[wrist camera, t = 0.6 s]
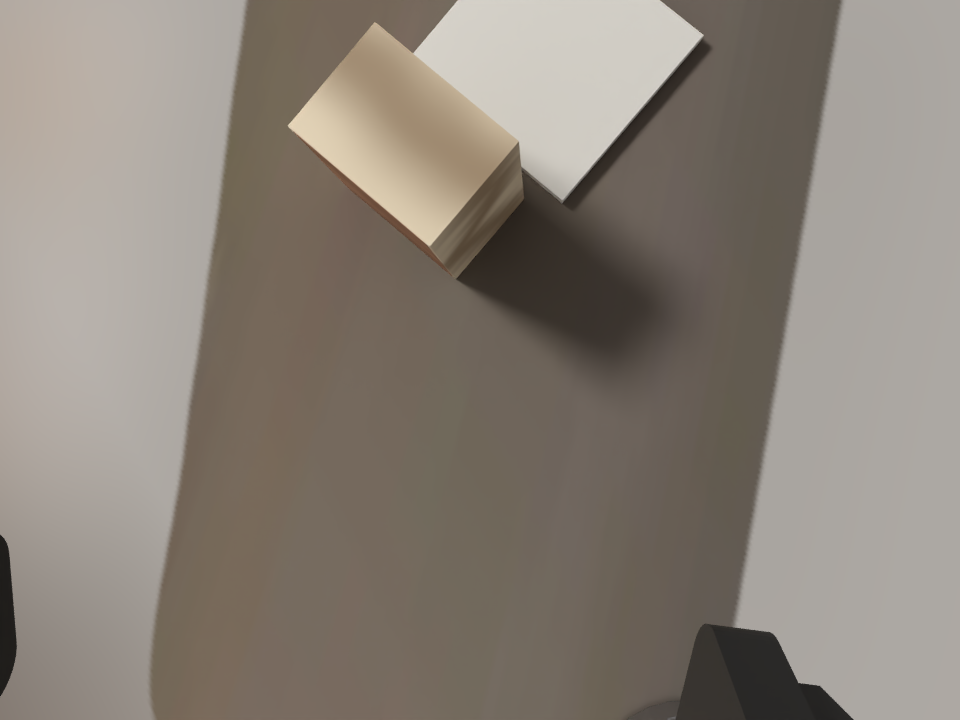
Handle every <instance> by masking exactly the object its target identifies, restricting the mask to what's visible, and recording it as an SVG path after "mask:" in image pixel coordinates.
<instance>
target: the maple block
mask: <svg viewBox="0 0 960 720" xmlns="http://www.w3.org/2000/svg"><path fill="white" fill-rule="evenodd" d="M288 127H289V128H290V129H291V130H292V131H293V132H294V133H295V134H296V135H297V136H298V137H299V138H300V139H301V140H302V141H303V142H304V143H305V144H306V145H307V146H308V147H309V148H310V149H311V150H312V151H313V152H314V153H315V154H316V155H317V156H318V157H319V158H320V159H321V161H322V162H323V163H324V164H325V165H326V166H327V167H328V168H329V169H330V170H331V171H332V172H333V173H334V174H335V175H336V176H337V177H338V178H339V179H340V180H341V181H342V182H343V183H344V184H345V185H346V186H347V187H348V188H349V189H350V190H351V191H352V192H354V193H355V194H356V195H357V196H358V197H360V198H361V199H362V200H363V201H364V202H365V203H367V204H368V205H369V206H370V207H371V208H372V209H374V210H375V211H376V212H377V213H378V214H380V215H381V216H382V217H383V218H384V219H385V220H387V221H388V222H389V223H390V224H391V225H392V226H394V227H395V228H396V229H397V230H398V231H399V232H401V233H402V234H403V235H404V236H405V237H407V238H408V239H409V240H410V241H411V242H412V243H414V244H415V245H416V246H417V247H418V248H419V249H421V250H422V251H423V252H424V253H425V254H426V255H428V256H429V257H430V258H431V259H432V260H434V261H435V262H436V263H437V264H438V265H439V266H441V267H442V268H443V269H444V270H445V271H446V272H448V273H449V274H450V275H451V276H453V277H454V278H455V279H456V278H457V277H458V276H459V275H460V274H461V273H462V271H463V270H464V269H465V268H466V267H467V266H468V264H469V263H470V262H471V261H472V260H473V259H474V257H475V256H476V255H477V254H478V253H479V251H480V250H481V249H482V248H483V247H484V246H485V244H486V243H487V242H488V241H489V240H490V239H491V237H492V236H493V235H494V234H495V233H496V232H497V230H498V229H499V228H500V227H501V226H502V224H503V223H504V222H505V221H506V220H507V219H508V217H509V216H510V215H511V214H512V213H513V212H514V210H515V209H516V208H517V207H518V206H519V204H520V203H521V202H522V201H523V200H524V193H523V181H522V170H521V159H520V147H519V141H518V140H517V139H516V138H514V137H513V136H512V135H511V134H510V133H508V132H507V131H506V130H505V129H504V128H502V127H501V126H500V125H499V124H497V123H496V122H495V121H494V120H493V119H491V118H490V117H489V116H488V115H487V114H485V113H484V112H483V111H482V110H481V109H479V108H478V107H477V106H476V105H475V104H473V103H472V102H471V101H470V100H468V99H467V98H466V97H465V96H464V95H462V94H461V93H460V92H459V91H458V90H456V89H455V88H454V87H453V86H452V85H450V84H449V83H448V82H447V81H445V80H444V79H443V78H442V77H441V76H439V75H438V74H437V73H436V72H435V71H433V70H432V69H431V68H430V67H429V66H427V65H426V64H425V63H424V62H422V61H421V60H420V59H419V58H418V57H416V56H415V55H414V54H413V53H412V52H410V51H409V50H408V49H407V48H406V47H404V46H403V45H402V44H401V43H400V42H398V41H397V40H396V39H395V38H393V37H392V36H391V35H390V34H389V33H387V32H386V31H385V30H384V29H383V28H381V27H380V26H379V25H378V24H377V23H374V24H373V25H372V26H371V27H370V29H369V30H368V31H367V32H366V33H365V35H364V36H363V37H362V38H361V39H360V41H359V42H358V43H357V44H356V45H355V47H354V48H353V49H352V50H351V51H350V52H349V54H348V55H347V56H346V57H345V58H344V60H343V61H342V62H341V63H340V64H339V66H338V67H337V68H336V69H335V70H334V72H333V73H332V74H331V75H330V76H329V78H328V79H327V80H326V81H325V82H324V83H323V85H322V86H321V87H320V88H319V89H318V91H317V92H316V93H315V94H314V95H313V97H312V98H311V99H310V100H309V101H308V103H307V104H306V105H305V106H304V107H303V109H302V110H301V111H300V112H299V113H298V115H297V116H296V117H295V118H294V119H293V120H292V122H291V123H290V124H289V125H288Z"/></svg>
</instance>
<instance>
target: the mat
mask: <svg viewBox="0 0 960 720" xmlns="http://www.w3.org/2000/svg"><path fill="white" fill-rule="evenodd" d="M702 37H703V34H701V33H700V32H699V31H698V30H696V29H695V28H694V27H693V26H691V25H690V24H689V23H688V22H686V21H685V20H684V19H683V18H681V17H680V16H679V15H678V14H676V13H675V12H674V11H672V10H671V9H670V8H669V7H667V6H666V5H665V4H664V3H662V2H661V1H660V0H458V1H457V2H456V3H455V5H454V6H453V7H452V8H451V9H450V10H449V12H448V13H447V14H446V15H445V16H444V18H443V19H442V20H441V21H440V22H439V24H438V25H437V26H436V27H435V28H434V29H433V31H432V32H431V33H430V34H429V35H428V37H427V38H426V39H425V40H424V41H423V43H422V44H421V45H420V46H419V47H418V49H417V50H416V51H415V52H414V53H413V54H414V55H415V56H416V57H418V58H419V59H420V60H421V61H422V62H424V63H425V64H426V65H427V66H429V67H430V68H431V69H432V70H433V71H435V72H436V73H437V74H438V75H439V76H441V77H442V78H443V79H444V80H445V81H447V82H448V83H449V84H450V85H452V86H453V87H454V88H455V89H456V90H458V91H459V92H460V93H461V94H462V95H464V96H465V97H466V98H467V99H468V100H470V101H471V102H472V103H473V104H475V105H476V106H477V107H478V108H479V109H481V110H482V111H483V112H484V113H485V114H487V115H488V116H489V117H490V118H491V119H493V120H494V121H495V122H496V123H497V124H499V125H500V126H501V127H502V128H504V129H505V130H506V131H507V132H508V133H510V134H511V135H512V136H513V137H514V138H516V139H517V140H518V141H519V147H520V159H521V170H522V171H524V172H525V173H526V174H527V175H528V176H530V177H531V178H532V179H533V180H534V181H536V182H537V183H538V184H539V185H540V186H542V187H543V188H544V189H545V190H546V191H548V192H549V193H550V194H551V195H552V196H554V197H555V198H556V199H557V200H558V201H560V202H561V203H563V202H564V201H565V199H566V198H567V197H568V196H569V195H570V194H571V192H572V191H573V190H574V189H575V188H576V187H577V185H578V184H579V183H580V182H581V181H582V180H583V178H584V177H585V176H586V175H587V174H588V172H589V171H590V170H591V169H592V168H593V167H594V165H595V164H596V163H597V162H598V161H599V160H600V158H601V157H602V156H603V155H604V154H605V153H606V151H607V150H608V149H609V148H610V147H611V146H612V144H613V143H614V142H615V141H616V140H617V139H618V137H619V136H620V135H621V134H622V133H623V131H624V130H625V129H626V128H627V127H628V126H629V124H630V123H631V122H632V121H633V120H634V119H635V117H636V116H637V115H638V114H639V113H640V112H641V110H642V109H643V108H644V107H645V106H646V105H647V103H648V102H649V101H650V100H651V99H652V97H653V96H654V95H655V94H656V93H657V92H658V90H659V89H660V88H661V87H662V86H663V85H664V83H665V82H666V81H667V80H668V79H669V78H670V76H671V75H672V74H673V73H674V72H675V71H676V69H677V68H678V67H679V66H680V65H681V63H682V62H683V61H684V60H685V59H686V58H687V56H688V55H689V54H690V53H691V52H692V51H693V49H694V48H695V47H696V46H697V45H698V44H699V42H700V41H701V39H702Z"/></svg>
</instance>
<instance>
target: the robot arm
mask: <svg viewBox="0 0 960 720" xmlns="http://www.w3.org/2000/svg"><path fill="white" fill-rule="evenodd" d="M16 649H17V645H16V630H15V618H14V606H13V594H12V582H11V570H10V557H9V550H8V546H7V543H6V541H5V539H4V538H3V537H2V536H1V535H0V696H1V694H2V693H3V691H4V689H5V687H6V685H7V683H8V681H9V679H10V676H11V673H12V670H13V666H14V663H15V657H16ZM627 720H853V719H852V718H851V717H850V716H849V715H848V714H847V713H846V712H845V711H844V710H843V709H842V708H841V707H840V706H839V705H838V704H837V703H836V702H835V701H834V700H833V699H832V698H831V697H830V696H829V695H828V694H827V693H826V692H825V691H824V690H823V689H822V688H821V687H820V686H817V685H809V684H801V683H798V681H797V679H796V677H795V675H794V673H793V671H792V669H791V667H790V665H789V663H788V661H787V659H786V656H785V654H784V652H783V650H782V648H781V646H780V644H779V642H778V640H777V639H776V637H775V636H774V635H773V634H772V633H770V632H764V631H756V630H749V629H741V628H733V627H726V626H718V625H710V624H704V625H703V626H702V627H701V628H700V630H699V631H698V634H697V636H696V640H695V643H694V647H693V651H692V655H691V659H690V663H689V667H688V671H687V675H686V679H685V683H684V687H683V691H682V695H681V700H680V701H670V702H666V703H662V704H659V705H655V706H651V707H648V708H646V709H644V710H643V711H641V712H639V713H637V714H635V715H633V716H631V717H630V718H628V719H627Z"/></svg>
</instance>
